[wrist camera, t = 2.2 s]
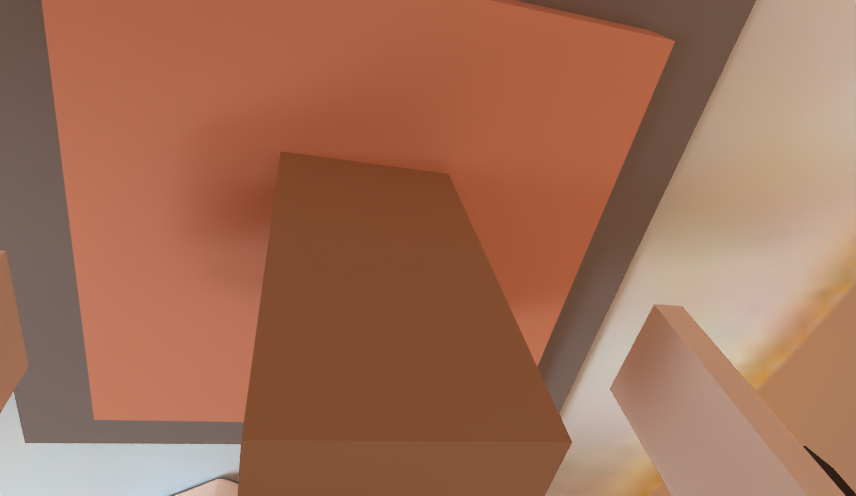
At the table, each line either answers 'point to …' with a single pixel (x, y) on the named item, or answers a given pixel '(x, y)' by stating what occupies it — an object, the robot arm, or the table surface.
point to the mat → (74, 422)
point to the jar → (213, 489)
